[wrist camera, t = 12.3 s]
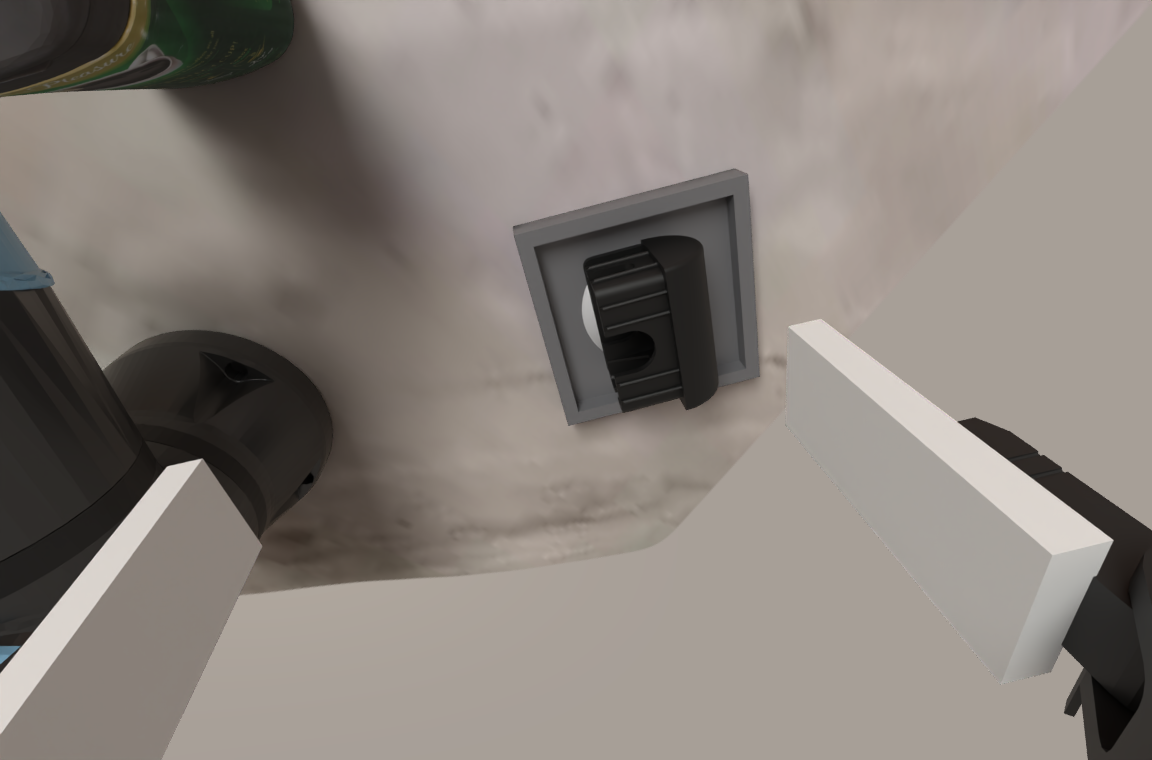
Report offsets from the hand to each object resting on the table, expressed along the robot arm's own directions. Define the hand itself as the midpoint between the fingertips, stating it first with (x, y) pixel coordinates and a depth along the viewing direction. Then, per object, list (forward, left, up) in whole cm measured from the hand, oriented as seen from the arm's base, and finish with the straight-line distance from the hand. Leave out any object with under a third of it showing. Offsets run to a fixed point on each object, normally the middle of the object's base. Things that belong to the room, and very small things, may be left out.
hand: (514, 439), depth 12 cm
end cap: (+7, -9, -25) cm, 28 cm away
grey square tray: (+8, -9, -26) cm, 29 cm away
